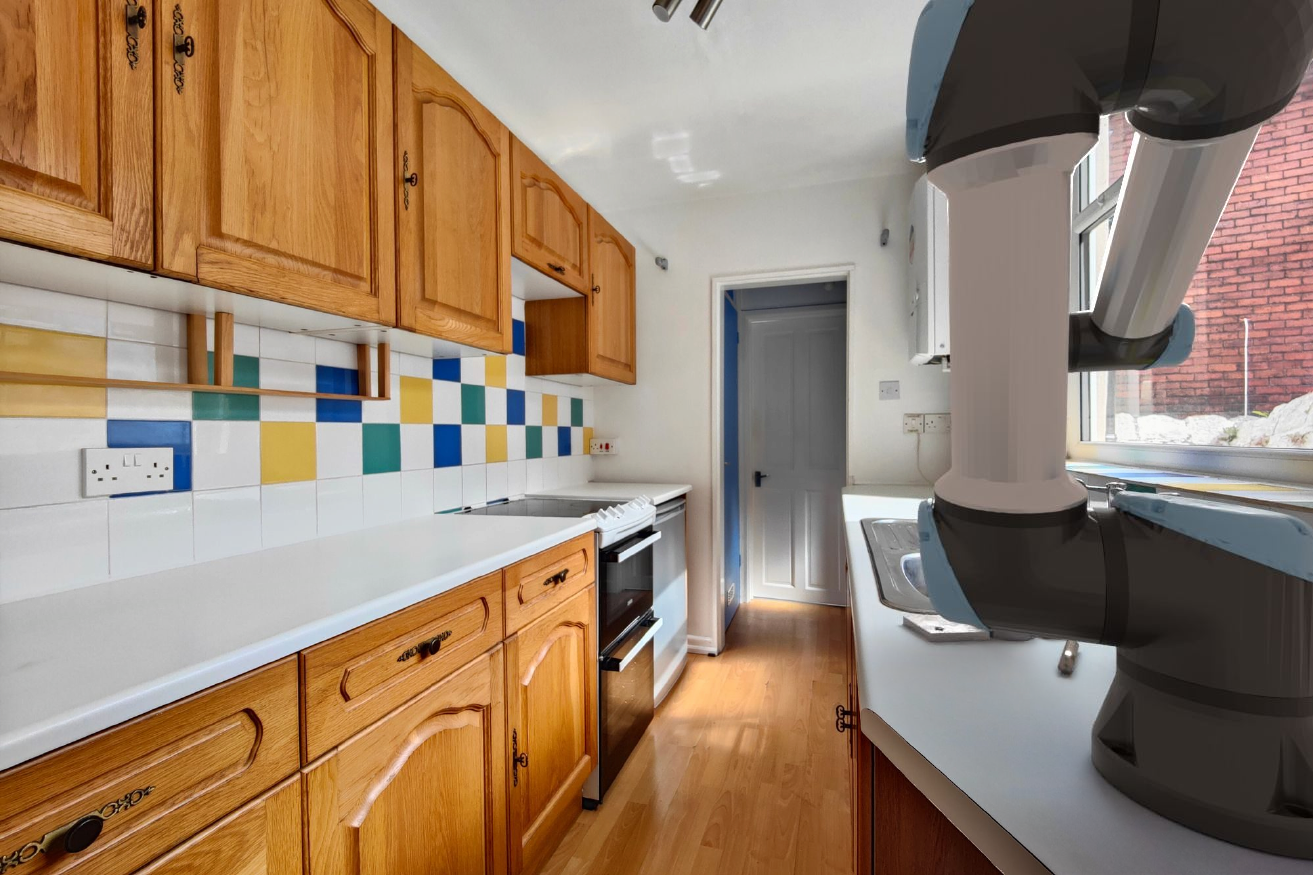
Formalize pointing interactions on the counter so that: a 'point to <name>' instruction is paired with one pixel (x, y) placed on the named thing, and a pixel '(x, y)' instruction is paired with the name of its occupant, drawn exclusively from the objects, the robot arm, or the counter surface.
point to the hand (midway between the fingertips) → (998, 580)
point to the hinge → (955, 630)
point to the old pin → (1068, 657)
